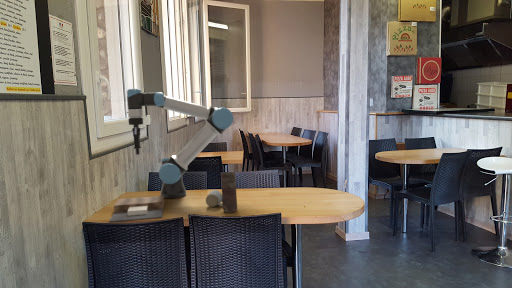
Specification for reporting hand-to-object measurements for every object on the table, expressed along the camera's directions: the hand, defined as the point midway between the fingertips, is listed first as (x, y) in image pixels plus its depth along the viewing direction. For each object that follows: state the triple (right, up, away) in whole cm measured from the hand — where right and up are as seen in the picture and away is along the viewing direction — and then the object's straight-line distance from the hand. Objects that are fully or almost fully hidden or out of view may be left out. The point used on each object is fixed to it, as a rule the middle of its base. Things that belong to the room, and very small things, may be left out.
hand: (138, 160), depth 200 cm
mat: (+7, -26, -22) cm, 35 cm away
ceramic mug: (+44, -24, -7) cm, 51 cm away
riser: (+4, -25, -8) cm, 27 cm away
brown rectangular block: (+52, -25, -19) cm, 61 cm away
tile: (+6, -26, -19) cm, 32 cm away
